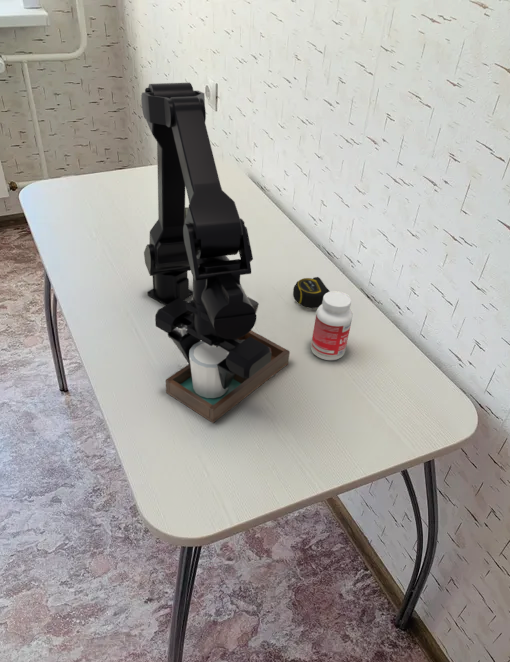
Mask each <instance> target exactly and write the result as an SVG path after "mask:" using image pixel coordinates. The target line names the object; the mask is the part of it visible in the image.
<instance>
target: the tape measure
mask: <svg viewBox="0 0 510 662" xmlns="http://www.w3.org/2000/svg"><path fill="white" fill-rule="evenodd" d="M328 292H331V291H330V290H329V288H328V287H327V286H326V285H325V283H324V282H323V280H322V279H321V277H319V276H315V277H314V276H313V278H312V277H303V278H301V279H299V280H297V281H296V282H295V284H294V287H293V291H292V297H293V299H294V301H295V302H296V303H297V304H298V305H299V306H301V307H304V308H307V309H318V307H319V306H320V305H321V304H322V301H323V297H324V295H325V294H326V293H328Z"/></svg>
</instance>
